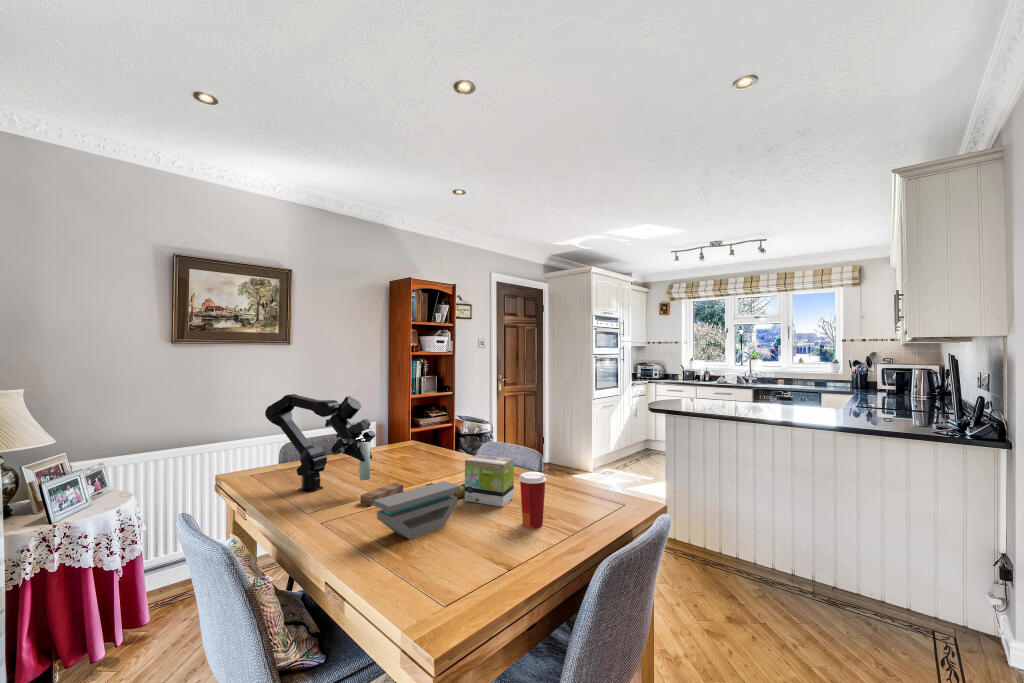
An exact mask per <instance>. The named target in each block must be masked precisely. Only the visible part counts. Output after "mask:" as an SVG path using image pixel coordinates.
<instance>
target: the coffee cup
mask: <svg viewBox="0 0 1024 683" xmlns="http://www.w3.org/2000/svg"><path fill="white" fill-rule="evenodd" d="M518 481H519V483H520V498H521V499H520V502H521V516H522V526H523V527H524V528H527V529H531V530H533V529H540V528H542V527H543V522H544V511H545V510H544V509H545V508H544V507H545V495H546V493H545V492H546V481H547V478H546V475H545V474H544V473H542V472H539V471H527V472H523V473H521V474H520V475H519V478H518Z"/></svg>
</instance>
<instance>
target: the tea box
mask: <svg viewBox="0 0 1024 683" xmlns="http://www.w3.org/2000/svg"><path fill="white" fill-rule="evenodd" d="M514 459H515V458H512V457H505V456H504V457H503V456H495V455H488V454H487V455H486V454H476V455H473V456H471V457H470V458H468V459H465V460H464V483H465V496H464V502H470V503H471V502H472V503H478V504H483V505H488V506H489V505H490V506H493V505H494V506H495V507H499V506H502V507H501V508H504V507H505V506H506V505H507V504H508V503H510V502H511V501H512V500H513V499H514V492H515V491H514V489H515V486H514V484H515V483H514V482H515V481H514V476H515V474H514V473H515V471H514V468H515V464H514V463H515V460H514ZM511 499H512V500H511ZM510 500H511V501H510ZM509 501H510V502H509ZM506 503H507V504H506ZM505 504H506V505H505ZM504 505H505V506H504ZM494 506H493V507H494ZM503 506H504V507H503Z"/></svg>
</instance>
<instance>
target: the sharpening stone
mask: <svg viewBox="0 0 1024 683" xmlns="http://www.w3.org/2000/svg"><path fill="white" fill-rule="evenodd" d="M458 491H460V485H458V484H456V483H452V482H448V481H446V480H442V481H440V482H436V483H433V484H431V485H427V486H425V485H423V486H420V487H417V488H413V489H410V490H406V491H403V492H402V493H398V494H394V495H391V496H387V497H384V498H380V499H376V500H374V505H373V506H374V507H376V508H379V509H380V510H377V511H376V512H377V513H376V517H377V518H376V519H377V520H378V521H380V523H382V524H383V525H385V526H386V527H387V528H389V529H390V530H391V531H392V532H394V533H395V532H396V533H395V534H397V533H398V534H397V535H399V536H402V537H403V538H406V539H407V540H410V539H411V540H413V539H416V538H418V537H417V536H419V537H421V536H420V535H422V534H424V535H426V534H425V533H427V534H429V533H428V532H430V533H432V532H434V530H435V531H437V529H438V530H440V529H442V527H443V528H444V526H446V523H447V522H448V521H449V518H450V516H451V515H452V513H454V510H456V507H457V505H458V498H457V497H454V496H451V495H450V494H451V493H455V492H458ZM439 528H440V529H439ZM431 531H432V532H431ZM422 536H423V535H422ZM415 537H416V538H415ZM412 538H413V539H412Z"/></svg>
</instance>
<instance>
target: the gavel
mask: <svg viewBox="0 0 1024 683" xmlns="http://www.w3.org/2000/svg"><path fill="white" fill-rule="evenodd" d="M431 484H434V483H433V482H431V483H427V484H425V485H424V486H427V485H431ZM459 486H460V491H458V492H455V493H451V494H450V495H451V496H454V497H457V499H460V498H464V497H465V482H463V483H462V484H460V485H459Z"/></svg>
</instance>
